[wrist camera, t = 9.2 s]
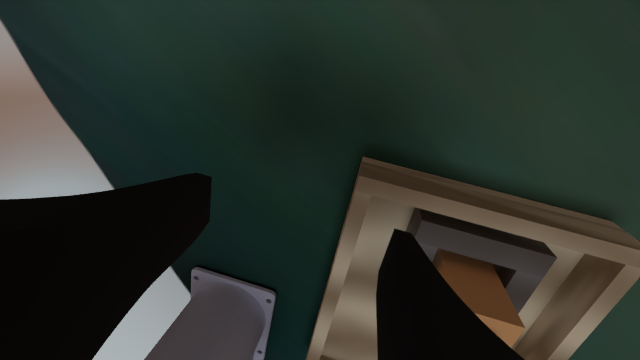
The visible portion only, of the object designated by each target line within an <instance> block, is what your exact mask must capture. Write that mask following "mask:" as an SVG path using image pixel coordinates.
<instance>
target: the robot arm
mask: <svg viewBox="0 0 640 360" xmlns="http://www.w3.org/2000/svg"><path fill="white" fill-rule="evenodd" d="M211 180H212V177H210V176H206V175H203V174H199V173H193V174H186V175H181V176H176V177H172V178H167V179H163V180H158V181H154V182H149V183H145V184H140V185H135V186H130V187H125V188H120V189H114V190H109V191H103V192H96V193H89V194H80V195H73V196H60V197H47V198H33V199H9V200H0V360H92V359H93V357H94V356H95V355H96V353H97V352H98V351H99V349H100V348H101V346H102V345H103V344H104V342H105V341H106V340H107V338H108V337H109V336H110V335H111V333H112V332H113V331H114V329H115V328H116V327H117V325H118V324H119V323H120V322H121V320H122V319H123V318H124V316H125V315H126V314H127V313H128V311H129V310H130V309H131V308H132V307H133V305H134V304H135V303H136V302H137V300H138V299H139V298H140V297H141V296H142V294H143V293H144V292H145V291H146V290H147V289H148V288H149V287H150V285H151V284H152V283H153V282H154V281H155V280H156V279H157V278H158V277H159V276H160V275H161V274H162V273H163V272H164V271H165V270H166V269H167V268H168V267H169V266H170V265H171V264H172V263H173V262H174V261H175V260H176V259H177V258H178V257H179V256H180V255H181V254H182V253H183V252H184V251H185V250H186V249H187V248H188V247H189V246H190V245H191V244H192V243H193V242H194V241H195V240H196V238H197V237H198V236H199V235H200V233H201V232H202V231H203V229H204V228H205V226H206V225H207V224H208V222H209V218H210V199H211ZM269 299H270V300H269ZM275 300H276V293H275V292H274V291H272V290H270V289H266V288H263V287H260V286H257V285H254V284H250V283H247V282H244V281H241V280H238V279H234V278H231V277H228V276H225V275H222V274H218V273H215V272H212V271H209V270H206V269H202V268H199V267H195V268H194V269H193V270H192V272H191V300H190V302H189V303H188V304H187V306H186V307H185V308H184V309H183V311H182V312H181V313H180V315H179V316H178V317H177V319H176V320H175V321H174V322H173V324H172V325H171V326H170V327H169V329H168V330H167V331H166V333H165V334H164V335H163V336H162V338H161V339H160V340H159V341H158V343H157V344H156V345H155V347H154V348H153V349H152V350H151V352H150V353H149V354H148V355H147V357H146V358H145V359H144V360H264V357H265V352H266V347H267V342H268V336H269V331H270V326H271V321H272V315H273V310H274V305H275ZM376 318H377V351H378V360H525V359H524V358H522V357H521V356H520V355H519V354H518V353H516V352H515V351H514V350H513V349H512V348H511V347H509V346H508V345H507V344H506V343H505V342H504V341H503V340H502V339H501V338H500V337H498V336H497V335H496V334H495V333H494V332H493V331H492V330H491V329H490V328H489V327H488V326H487V325H486V324H485V323H484V322H482V321H481V320H480V319H479V317H478V316H477V315H476V314H475V313H474V312H473V311H472V310H471V309H470V308H469V307H468V306H467V305H466V304H465V303H464V302H463V301H462V299H461V298H460V297H459V296H458V295H457V294H456V293H455V291H454V290H453V289H452V288H451V287H450V285H449V284H448V283H447V282H446V281H445V279H444V278H443V277H442V275H441V274H440V273H439V271H438V270H437V269H436V267H435V266H434V265H433V263H432V262H431V261H430V259H429V258H428V256H427V255H426V253H425V252H424V251H423V249H422V248H421V246H420V245H419V243H418V242H417V240H416V239H415V238H414V236H413V235H412V234H411V233H409V232H406V231H402V230H399V229H395V228H394V231H393V234H392V236H391V239H390V242H389V244H388V247H387V250H386V252H385V255H384V258H383V260H382V263H381V266H380V268H379V271H378V280H377V290H376Z"/></svg>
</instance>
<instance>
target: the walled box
mask: <svg viewBox="0 0 640 360" xmlns="http://www.w3.org/2000/svg"><path fill="white" fill-rule="evenodd" d="M394 228H395V229H399V230H402V231H406V232H409V233H411V234H412V235H413V236H414V238H415V239H416V240H417V242H418V243H419V245H420V246H421V248H422V249H423V251H424V252H425V253H426V255H427V256H428V258H429V259H430V261H431V262H432V260H433V258H434V256H435V254H436V252H437V250H438V248H440V249H443V250H447V251H450V252H454V253H457V254H461V255H464V256H468V257H472V258H475V259H479V260H482V261H486V262H489V263H492V265H493V267H494V269H495V271H496V273H497V275H498V277H499V279H500V280H501V282H502V284H503V286H504V288H505V290H506V292H507V294H508V296H509V298H510V300H511V302H512V303H513V305H514V307H515V309H516V311H517V313H518V315H519V317H520V319H521V321H522V323H523V325H524V326H525V330H524V331H523V332H522V334H521V335H520V336H519V338H518V339H517V341H516V342H515V343H514V345H513V346H512V347H511V348H512V349H513V350H514V351H515V352H516V353H518V354H519V355H520V356H521V357H522V358H524V359H525V360H568V359H569V357H570V356H571V355H572V354H573V353H574V352H575V351H576V349H577V348H578V347H579V346H580V345H581V344H582V343H583V341H584V340H585V339H586V338H587V337H588V336H589V335H590V333H591V332H592V331H593V330H594V329H595V328H596V327H597V325H598V324H599V323H600V322H601V321H602V320H603V319H604V317H605V316H606V315H607V314H608V313H609V312H610V311H611V309H612V308H613V307H614V306H615V305H616V304H617V303H618V301H619V300H620V299H621V298H622V297H623V296H624V295H625V293H626V292H627V291H628V290H629V289H630V288H631V287H632V285H633V284H634V283H635V282H636V281H637V280H638V279H639V277H640V242H639V241H638V240H637V239H635V238H634V237H633V236H631V235H630V234H628V233H627V232H626V231H624V230H623V229H622V228H620V227H619V226H617V225H616V224H615V223H613V222H612V221H609V220H605V219H601V218H597V217H594V216H590V215H586V214H582V213H578V212H574V211H571V210H567V209H563V208H559V207H555V206H551V205H547V204H544V203H540V202H536V201H532V200H528V199H524V198H521V197H517V196H513V195H509V194H505V193H501V192H498V191H494V190H490V189H486V188H482V187H478V186H474V185H471V184H467V183H463V182H459V181H455V180H451V179H448V178H444V177H440V176H436V175H432V174H428V173H425V172H421V171H417V170H413V169H409V168H405V167H401V166H398V165H394V164H390V163H386V162H382V161H378V160H375V159H371V158H367V157H363V158H362V161H361V165H360V168H359V172H358V175H357V179H356V182H355V186H354V189H353V193H352V196H351V200H350V203H349V207H348V210H347V214H346V217H345V221H344V225H343V228H342V232H341V235H340V239H339V242H338V246H337V249H336V253H335V256H334V260H333V263H332V267H331V270H330V274H329V277H328V281H327V284H326V288H325V292H324V295H323V299H322V302H321V306H320V309H319V313H318V316H317V320H316V323H315V327H314V330H313V334H312V337H311V341H310V344H309V348H308V352H307V356H306V360H378V351H377V318H376V290H377V280H378V271H379V268H380V266H381V263H382V260H383V258H384V255H385V252H386V250H387V247H388V244H389V242H390V239H391V236H392V234H393V231H394Z"/></svg>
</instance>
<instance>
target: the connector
mask: <svg viewBox="0 0 640 360" xmlns="http://www.w3.org/2000/svg"><path fill="white" fill-rule="evenodd" d="M432 263H433V265H434V266H435V267H436V269H437V270H438V271H439V273H440V274H441V275H442V277H443V278H444V279H445V281H446V282H447V283H448V284H449V285H450V287H451V288H452V289H453V290H454V291H455V293H456V294H457V295H458V296H459V297H460V298H461V299H462V301H463V302H464V303H465V304H466V305H467V306H468V307H469V308H470V309H471V310H472V311H473V312H474V313H475V314H476V315H477V316H478V317H479V319H480V320H481V321H482V322H484V323H485V324H486V325H487V326H488V327H489V328H490V329H491V330H492V331H493V332H494V333H495V334H496V335H497V336H498V337H500V338H501V339H502V340H503V341H504V342H505V343H506V344H507V345H508V346H509V347H512V346H513V345H514V343H515V342H516V341H517V339H518V338H519V336H520V335H521V334H522V332H523V331H524V330H525V326H524V325H523V323H522V321H521V319H520V317H519V315H518V313H517V311H516V309H515V307H514V305H513V303H512V302H511V300H510V298H509V296H508V294H507V292H506V290H505V288H504V286H503V284H502V282H501V280H500V279H499V277H498V275H497V273H496V271H495V269H494V267H493V265H492V263H489V262H486V261H482V260H479V259H475V258H472V257H468V256H464V255H461V254H457V253H454V252H450V251H447V250H443V249H440V248H438V250H437V252H436V254H435V256H434V258H433V260H432Z"/></svg>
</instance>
